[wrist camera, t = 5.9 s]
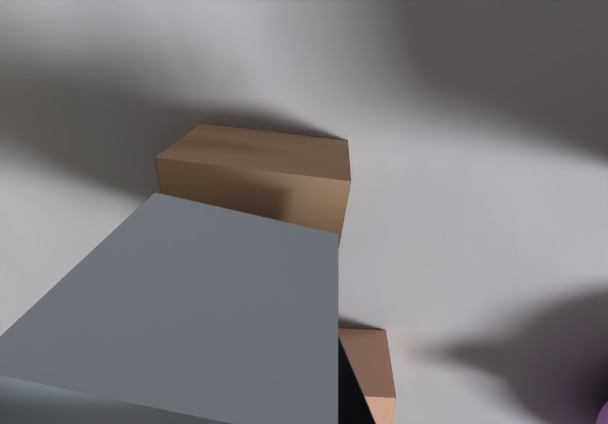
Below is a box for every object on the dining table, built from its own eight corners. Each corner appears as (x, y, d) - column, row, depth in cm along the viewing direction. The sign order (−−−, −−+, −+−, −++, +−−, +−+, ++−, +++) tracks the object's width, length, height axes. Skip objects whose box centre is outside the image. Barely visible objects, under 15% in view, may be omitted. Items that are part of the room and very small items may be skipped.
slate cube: (301, 347, 11) (278, 548, 7) (160, 316, 11) (48, 503, 7) (338, 234, 9) (338, 446, 4) (154, 192, 8) (-34, 368, 4)
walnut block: (328, 254, 16) (325, 317, 13) (211, 238, 16) (177, 297, 13) (347, 138, 13) (350, 181, 10) (202, 121, 13) (154, 157, 10)
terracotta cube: (380, 379, 21) (388, 449, 18) (304, 375, 21) (298, 442, 18) (385, 328, 18) (396, 398, 15) (299, 324, 19) (290, 392, 16)
